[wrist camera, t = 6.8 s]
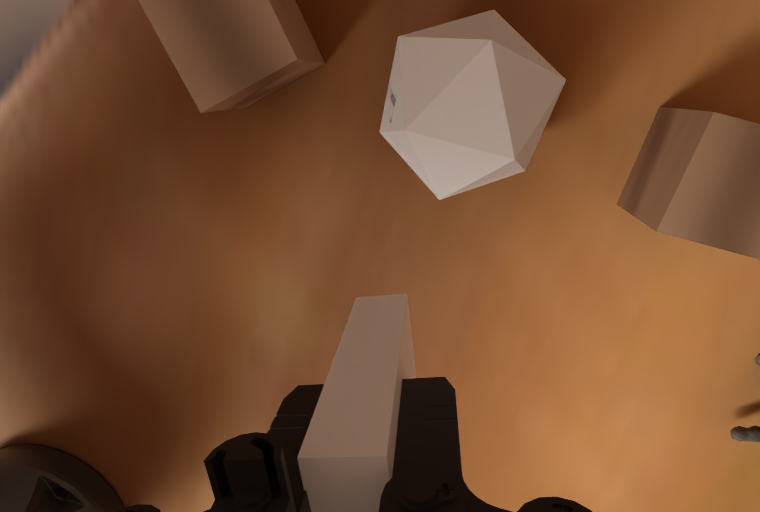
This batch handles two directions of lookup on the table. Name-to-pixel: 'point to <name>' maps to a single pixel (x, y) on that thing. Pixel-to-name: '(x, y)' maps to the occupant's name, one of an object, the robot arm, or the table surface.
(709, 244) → the walnut block
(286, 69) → the walnut block
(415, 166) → the die
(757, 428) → the dog figurine
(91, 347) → the table surface
